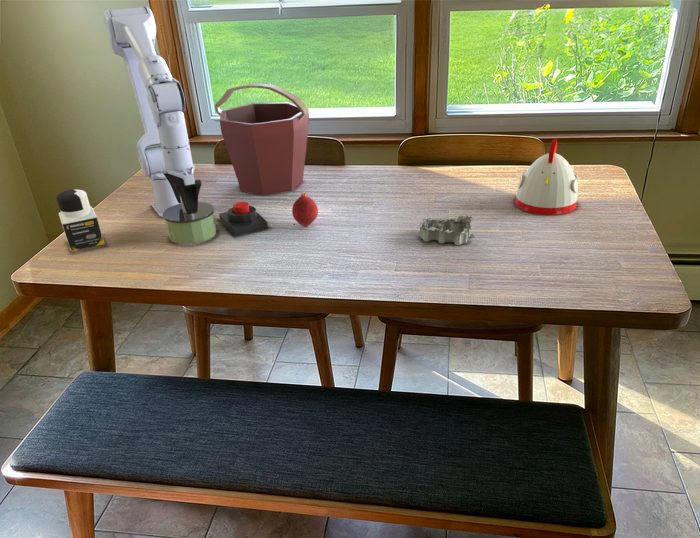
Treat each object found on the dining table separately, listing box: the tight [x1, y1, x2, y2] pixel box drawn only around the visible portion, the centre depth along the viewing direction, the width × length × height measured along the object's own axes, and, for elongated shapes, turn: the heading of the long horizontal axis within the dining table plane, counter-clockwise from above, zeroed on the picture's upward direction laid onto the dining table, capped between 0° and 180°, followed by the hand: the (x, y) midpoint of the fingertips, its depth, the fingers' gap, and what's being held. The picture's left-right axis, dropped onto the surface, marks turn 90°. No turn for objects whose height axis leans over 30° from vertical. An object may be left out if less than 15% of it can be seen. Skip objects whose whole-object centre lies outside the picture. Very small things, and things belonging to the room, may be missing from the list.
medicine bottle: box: [56, 188, 105, 252], centre depth 134 cm, size 7×7×12 cm
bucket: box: [214, 82, 310, 196], centre depth 159 cm, size 24×22×25 cm
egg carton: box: [418, 215, 473, 246], centre depth 132 cm, size 11×8×4 cm
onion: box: [291, 191, 319, 228], centre depth 139 cm, size 6×6×8 cm
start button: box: [232, 201, 250, 214], centre depth 141 cm, size 4×4×2 cm
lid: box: [162, 197, 215, 223], centre depth 135 cm, size 11×11×5 cm
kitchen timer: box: [515, 138, 579, 216], centre depth 142 cm, size 14×14×15 cm
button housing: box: [218, 205, 269, 237], centre depth 142 cm, size 11×8×4 cm
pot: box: [164, 213, 217, 245], centre depth 137 cm, size 10×10×6 cm
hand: (187, 207), depth 135 cm, fingers open, 7 cm apart
